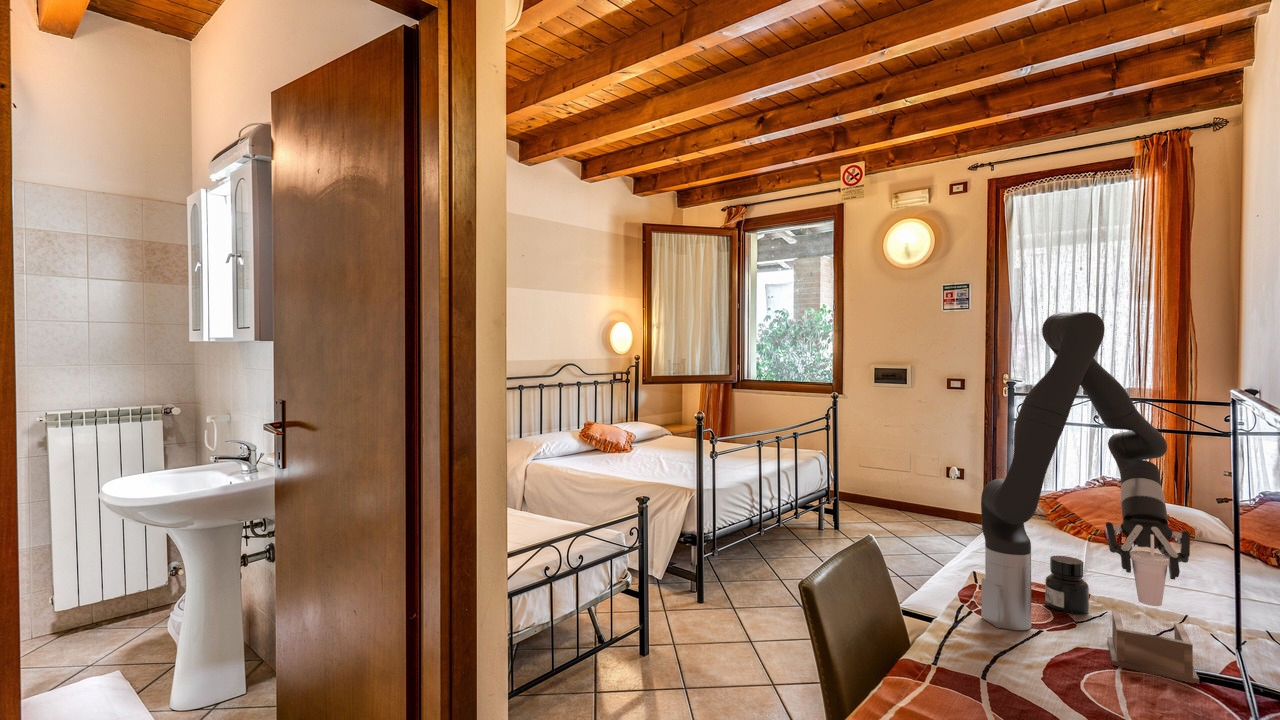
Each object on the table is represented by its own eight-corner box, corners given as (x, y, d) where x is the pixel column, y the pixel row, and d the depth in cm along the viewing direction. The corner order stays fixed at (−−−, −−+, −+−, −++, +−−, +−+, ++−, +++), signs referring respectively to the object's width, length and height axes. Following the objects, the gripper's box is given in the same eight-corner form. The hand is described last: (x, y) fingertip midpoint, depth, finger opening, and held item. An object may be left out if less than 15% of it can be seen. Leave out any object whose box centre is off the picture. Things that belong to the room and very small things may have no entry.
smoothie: (1161, 611, 119) (1160, 540, 119) (1123, 600, 125) (1122, 532, 125) (1177, 605, 122) (1175, 535, 122) (1139, 594, 127) (1138, 528, 128)
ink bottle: (1041, 598, 156) (1041, 552, 157) (1081, 603, 153) (1081, 556, 153) (1051, 612, 147) (1050, 563, 148) (1094, 618, 144) (1094, 567, 144)
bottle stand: (1107, 641, 132) (1107, 609, 132) (1186, 657, 125) (1186, 623, 125) (1112, 665, 121) (1112, 630, 121) (1199, 684, 114) (1199, 647, 114)
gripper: (1102, 490, 134) (1106, 558, 124) (1189, 498, 125) (1201, 571, 116) (1101, 509, 138) (1105, 576, 128) (1184, 518, 130) (1196, 590, 120)
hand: (1150, 573), depth 122 cm, fingers closed on smoothie, 6 cm apart
